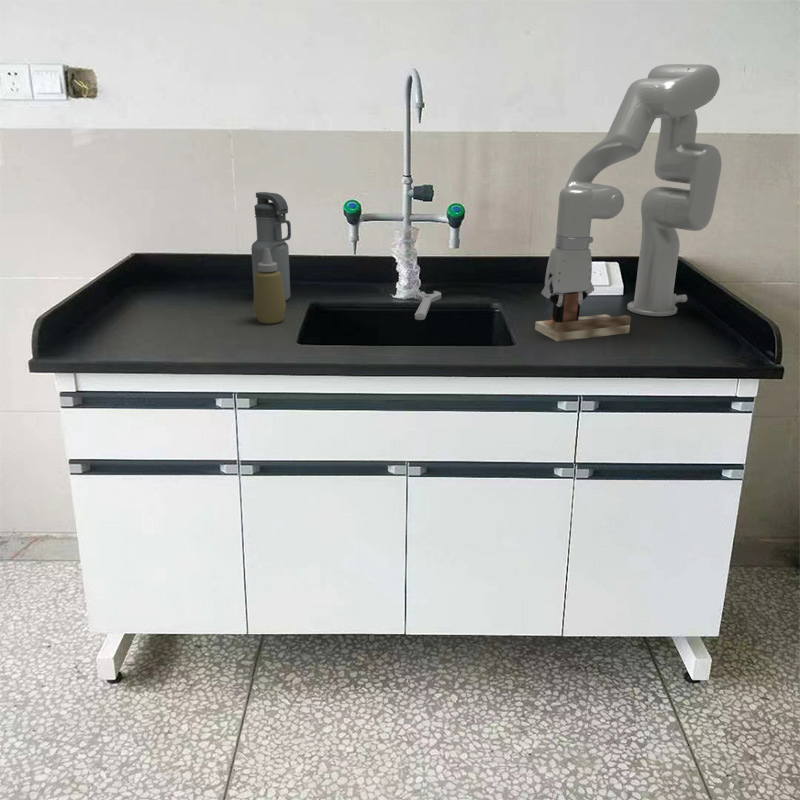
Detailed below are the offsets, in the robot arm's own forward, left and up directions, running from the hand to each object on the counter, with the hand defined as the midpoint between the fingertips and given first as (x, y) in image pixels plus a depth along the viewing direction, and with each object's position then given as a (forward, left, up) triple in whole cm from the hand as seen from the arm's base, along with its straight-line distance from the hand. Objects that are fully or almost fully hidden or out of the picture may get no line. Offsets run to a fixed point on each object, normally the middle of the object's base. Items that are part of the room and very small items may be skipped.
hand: (565, 320), depth 193 cm
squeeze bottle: (+63, -34, -4) cm, 72 cm away
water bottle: (+58, -55, -4) cm, 80 cm away
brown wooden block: (0, -1, -1) cm, 2 cm away
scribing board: (-5, -1, -4) cm, 7 cm away
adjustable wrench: (+22, -34, -4) cm, 41 cm away
